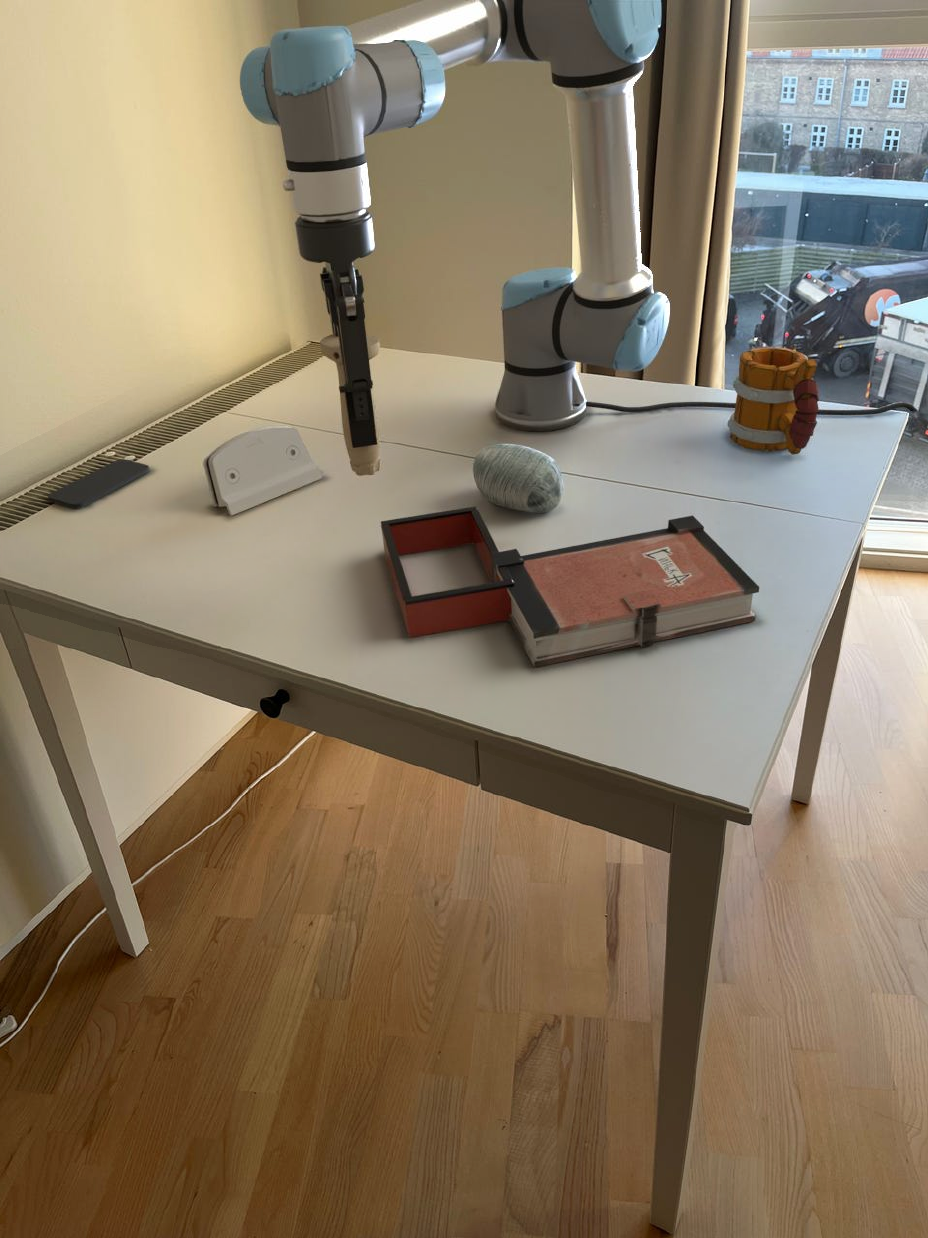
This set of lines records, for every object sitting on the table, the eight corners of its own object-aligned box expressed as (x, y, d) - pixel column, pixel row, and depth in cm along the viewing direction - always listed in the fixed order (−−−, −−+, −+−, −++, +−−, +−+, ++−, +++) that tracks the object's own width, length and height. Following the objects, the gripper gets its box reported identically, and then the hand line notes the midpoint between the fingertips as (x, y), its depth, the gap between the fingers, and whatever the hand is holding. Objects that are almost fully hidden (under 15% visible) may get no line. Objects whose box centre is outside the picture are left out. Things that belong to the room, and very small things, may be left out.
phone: (152, 465, 152) (76, 505, 141) (153, 470, 152) (78, 510, 142) (120, 457, 155) (44, 496, 145) (121, 462, 156) (45, 500, 145)
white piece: (229, 516, 137) (203, 449, 134) (216, 516, 141) (190, 451, 138) (324, 477, 146) (302, 413, 143) (309, 478, 150) (287, 416, 147)
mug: (773, 418, 154) (784, 325, 145) (837, 457, 141) (854, 358, 132) (713, 430, 151) (722, 337, 143) (773, 472, 138) (786, 371, 130)
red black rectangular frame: (478, 539, 128) (476, 505, 125) (516, 619, 112) (515, 583, 109) (384, 554, 126) (379, 521, 123) (408, 638, 110) (404, 602, 107)
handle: (356, 457, 112) (339, 330, 103) (401, 467, 109) (387, 337, 100) (331, 474, 108) (311, 343, 100) (376, 485, 105) (360, 351, 97)
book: (536, 671, 103) (535, 633, 100) (492, 588, 117) (490, 553, 114) (758, 624, 108) (763, 586, 105) (689, 550, 122) (692, 515, 119)
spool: (587, 480, 132) (552, 429, 126) (551, 533, 130) (513, 483, 124) (520, 474, 143) (485, 427, 137) (486, 523, 140) (448, 476, 134)
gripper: (287, 201, 99) (320, 413, 113) (301, 235, 86) (337, 473, 99) (358, 193, 101) (383, 404, 114) (384, 226, 87) (408, 462, 100)
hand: (361, 436), depth 106 cm, fingers closed on handle, 4 cm apart
